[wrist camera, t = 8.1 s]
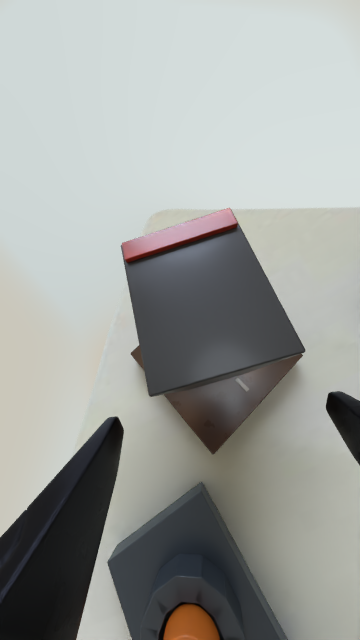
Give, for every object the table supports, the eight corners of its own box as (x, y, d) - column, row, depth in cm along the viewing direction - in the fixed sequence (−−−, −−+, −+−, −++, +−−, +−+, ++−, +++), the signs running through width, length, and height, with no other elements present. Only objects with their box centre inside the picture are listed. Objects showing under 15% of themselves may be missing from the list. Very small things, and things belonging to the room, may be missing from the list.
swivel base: (294, 358, 19) (304, 354, 17) (212, 448, 17) (213, 456, 15) (205, 285, 23) (205, 276, 21) (133, 352, 22) (126, 349, 20)
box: (243, 374, 17) (310, 350, 6) (186, 390, 17) (146, 397, 6) (218, 308, 20) (231, 203, 8) (169, 323, 20) (117, 240, 9)
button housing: (295, 652, 13) (324, 744, 9) (187, 746, 12) (179, 880, 9) (201, 481, 17) (200, 504, 13) (116, 545, 16) (93, 585, 13)
